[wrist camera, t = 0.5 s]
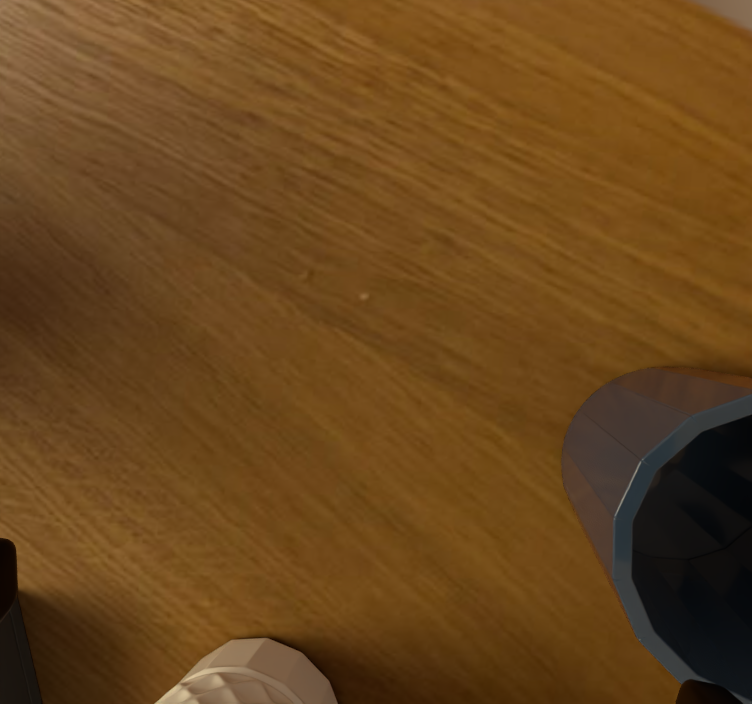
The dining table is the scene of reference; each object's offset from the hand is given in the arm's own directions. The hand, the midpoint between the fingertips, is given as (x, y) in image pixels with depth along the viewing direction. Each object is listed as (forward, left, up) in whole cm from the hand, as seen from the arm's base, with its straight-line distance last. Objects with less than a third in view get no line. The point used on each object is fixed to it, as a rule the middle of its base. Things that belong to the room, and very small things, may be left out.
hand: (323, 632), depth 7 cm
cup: (+2, -8, -13) cm, 16 cm away
